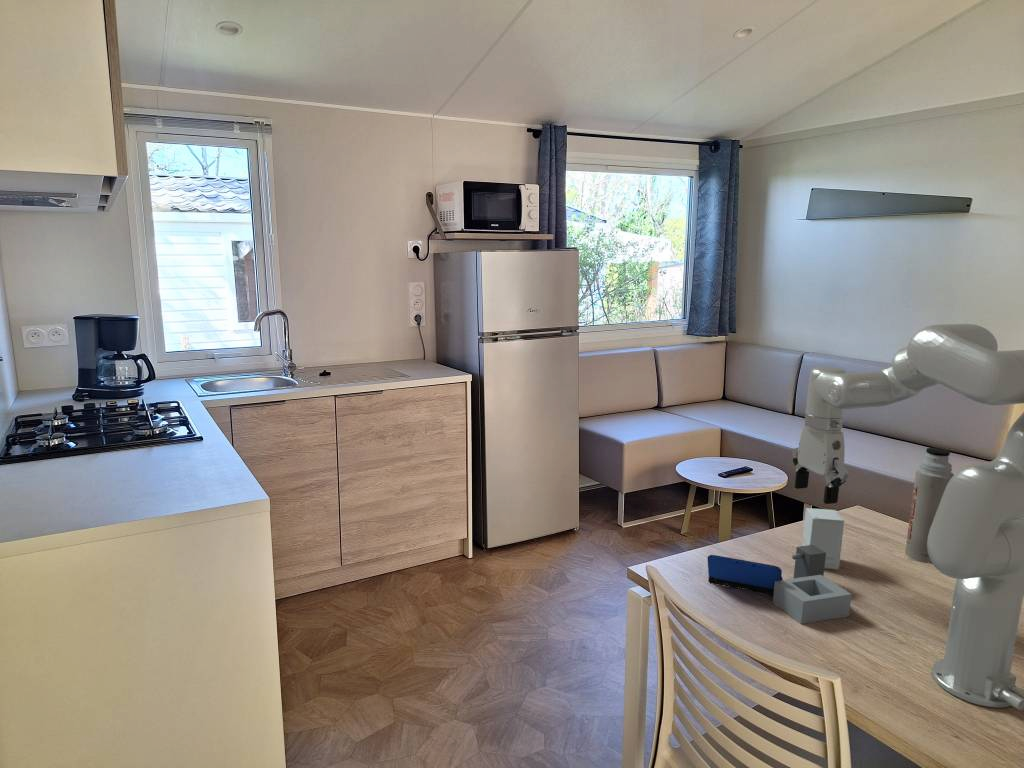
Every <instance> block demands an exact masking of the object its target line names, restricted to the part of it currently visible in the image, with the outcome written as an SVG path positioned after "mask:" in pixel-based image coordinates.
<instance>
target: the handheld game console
mask: <svg viewBox="0 0 1024 768" xmlns="http://www.w3.org/2000/svg"><path fill="white" fill-rule="evenodd" d="M707 569H708V570H707V573H708V583H709V582H710V583H709V584H711V583H713V584H712V585H716V584H719V585H718V586H722V585H725V586H724V587H727V586H729V587H728V588H732V587H733V588H732V589H741V588H744V589H743V590H746V591H748V590H749V591H748V592H752V593H756V592H757V594H761V593H762V595H766V594H767V595H768V596H771V597H773V595H774V585H775V581H780V580H783V576H782V573H783V570H782V568H781V567H779V566H777V565H772V564H767V563H762V562H755V561H750V560H743V559H738V558H733V557H727V556H720V555H715V554H710V555H708V556H707ZM738 587H739V588H738Z"/></svg>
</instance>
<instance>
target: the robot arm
mask: <svg viewBox="0 0 1024 768" xmlns="http://www.w3.org/2000/svg"><path fill="white" fill-rule="evenodd" d="M939 384H940V385H941V386H944V387H946V388H947V389H949V390H951V391H954V392H955V393H958V394H960V395H961V396H963V397H965V398H968V399H969V400H971V401H975V402H977V403H979V404H983V405H987V406H988V405H989V406H1006V405H1007V406H1009V405H1018V404H1024V349H1017V350H1016V349H1015V350H999V351H998V342H997V338H996V337H995V336H994V334H993V333H992V332H991V331H990V330H989V329H987V328H985V327H983V326H981V325H977V324H972V323H949V324H933V325H928V326H925V327H923V328H921V329H919V330H918V331H916V332H915V333H914V334H913V335H912V336H911V338H910V339H909V341H908V344H907V346H904V347H902V348H900V349H898V350H897V351H896V352H895V353H894V355H893V358H892V361H891V366H890V367H886V368H883V369H880V370H877V371H859V372H856V371H855V372H846V370H845V369H843V368H841V367H834V366H825V365H823V366H821V365H820V366H816V367H815V366H814V368H812V369H811V370H810V371H809V378H808V389H807V397H806V407H805V414H804V415H805V416H804V424H803V427H802V429H801V434H800V439H799V443H798V447H795V448H793V449H791V455H792V462H793V465H794V468H793V469H794V471H795V476H794V477H795V478H794V485H793V486H794V489H797V490H799V489H800V490H801V489H807V488H808V486H809V480H810V479H809V478H810V471H811V472H813V473H815V474H817V475H819V476H822V477H824V480H825V482H826V485H825V487H824V494H823V502H822V503H823V504H825V505H829V504H831V505H832V504H837V503H838V499H839V491H840V487H842V485H843V484H845V483H846V480H847V479H848V477H849V475H850V471H849V470H848V469H847V467H845V435H844V432H843V431H842V429H843V425H844V424H843V417H844V410H853V409H854V410H856V409H867V408H879V407H885V406H889V405H893V404H895V403H899V402H901V401H902V402H903V401H905V400H908V399H910V398H913V397H915V396H917V395H919V394H920V393H921V392H923V391H924V390H925V389H928V388H930V387H934V386H936V385H939ZM1002 445H1003V446H1002V447H1001V449H1000V451H999V453H997V454H998V455H997V456H996V458H994V459H993V460H991V461H984V462H978V463H974V464H970V465H966V466H964V467H962V468H960V469H959V470H957V472H955V473H954V476H953V477H952V478H951V479H950V481H949V482H948V484H947V486H946V489H945V491H944V493H943V496H942V499H941V501H940V504H939V507H938V509H937V512H936V514H935V517H934V520H933V522H932V525H931V528H930V531H929V534H928V540H927V550H928V555H929V557H930V560H931V562H932V563H931V564H932V565H933V567H935V569H936V570H937V571H938V572H940V573H941V574H942V575H944V576H946V577H949V578H952V579H956V581H955V586H954V592H953V597H952V603H951V610H950V618H949V623H948V628H947V629H948V630H947V636H946V637H947V638H946V645H945V651H944V657H943V659H939V660H936V661H935V662H934V663H933V664H932V667H931V669H932V670H931V675H932V678H933V680H934V681H935V682H936V683H937V684H938V685H939V686H940V687H941V689H943V690H945V691H946V692H948V693H949V694H951V695H953V696H955V697H957V698H958V699H961V700H963V701H966V702H968V703H972V704H974V705H978V706H983V707H989V708H998V709H999V708H1000V709H1001V708H1007V707H1011V706H1012V707H1014V708H1015V709H1017V710H1018V711H1023V710H1024V690H1022V689H1021V688H1018V687H1017V685H1016V683H1017V682H1016V680H1017V675H1015V674H1014V673H1012V672H1011V671H1012V663H1013V659H1014V651H1015V647H1016V640H1017V636H1018V635H1017V634H1018V628H1019V624H1020V619H1021V616H1020V615H1021V612H1022V606H1023V602H1024V520H1022V519H1024V411H1023V413H1021V415H1019V417H1018V418H1017V419H1016V420H1015V421H1014V423H1013V424H1012V426H1010V429H1009V430H1008V432H1007V434H1006V437H1005V440H1004V443H1003V444H1002ZM832 478H833V479H832Z"/></svg>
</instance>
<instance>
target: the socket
mask: <svg viewBox="0 0 1024 768" xmlns="http://www.w3.org/2000/svg"><path fill="white" fill-rule="evenodd" d="M852 596H853V595H852V593H850V592H849V591H848V590H846V589H844V588H842V587H841V586H840V585H838V584H836V583H835V582H834V581H832V580H830V579H829V578H827V577H825V576H823V575H815V576H808V577H801V578H794V577H793V578H788V579H782V580H780V581H775V585H774V595H773V596H772V597H773V598H772V603H773V604H774V605H776V606H777V607H779V608H780V609H781V610H782V611H783V612H784V613H786V614H787V615H789V616H790V617H791V618H793V620H795V621H796V622H797V623H799V624H800V625H804V624H808V623H815V622H821V621H828V620H832V619H833V620H834V619H841V618H845V617H849V616H850V611H851V610H850V609H851V602H852Z"/></svg>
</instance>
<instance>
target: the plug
mask: <svg viewBox="0 0 1024 768" xmlns="http://www.w3.org/2000/svg"><path fill="white" fill-rule="evenodd" d="M795 549H796V550H795V553H792V555H791V557H792V560H795V561H794V563H795V564H794V570H793V571H794V572H793V579H794V578H801V577H808V576H815V575H823V576H824V574H825V568H824V567H825V558H826V552H824V551H822V550H820V549H819V548H817V547H815V546H814V545H807V546H802V545H800V546H796V548H795ZM824 577H825V576H824Z"/></svg>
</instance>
